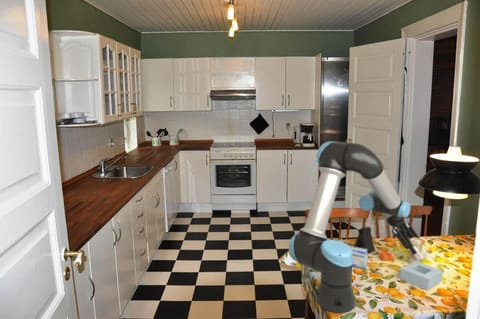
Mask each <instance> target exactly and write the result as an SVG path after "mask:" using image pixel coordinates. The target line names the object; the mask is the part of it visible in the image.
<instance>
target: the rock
mask: <svg viewBox="0 0 480 319" xmlns="http://www.w3.org/2000/svg"><path fill="white" fill-rule="evenodd" d="M379 259H380V260H381V261H383V262H387V261H393V260H394V259H395V255H394V254H393V253H390V252H387V251H385V250H380V251H379Z"/></svg>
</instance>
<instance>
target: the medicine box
mask: <svg viewBox="0 0 480 319" xmlns="http://www.w3.org/2000/svg"><path fill="white" fill-rule="evenodd" d="M349 247H350V248H351V251H352V257H353V263H352V268H357V269H361V270H366V268H367V266H368V254H367V251H368V249H364V248H358V247H354V245H353V246H351V245H350V246H349Z"/></svg>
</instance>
